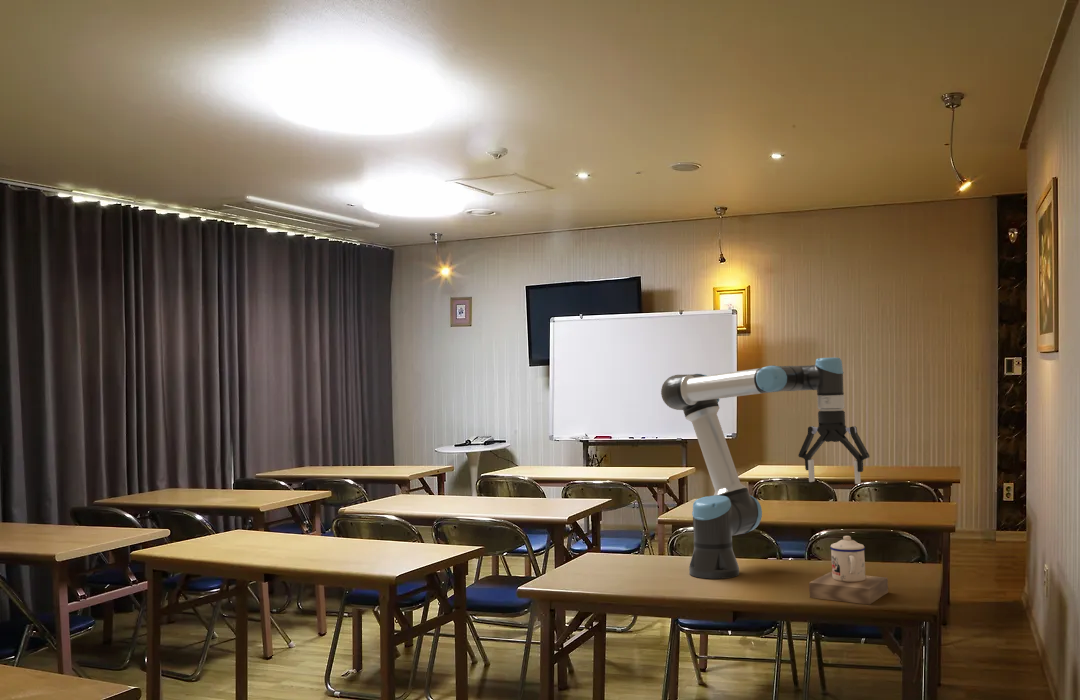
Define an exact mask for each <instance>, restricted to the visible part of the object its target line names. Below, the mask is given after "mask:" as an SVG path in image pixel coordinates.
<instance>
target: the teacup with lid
mask: <svg viewBox="0 0 1080 700" xmlns="http://www.w3.org/2000/svg"><path fill="white" fill-rule="evenodd" d="M842 538H843V539H840V540H838V541H837V542H835V543H831V544H830V548H829V549H830V552H831V553H830V554H831V572H832V577H833V579H835V580H838V581H843V582H860V581H863V580H865V578H866V577H865V575H866V562H865V560H866V559H865V550H866V547H865V546H864V544H862V543H858V542H857V541H856V540H854V539H852V537H851V536H850V535H843V537H842Z"/></svg>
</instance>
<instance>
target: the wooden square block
mask: <svg viewBox="0 0 1080 700" xmlns="http://www.w3.org/2000/svg"><path fill="white" fill-rule="evenodd" d="M865 577H866V578H865V580H863V581H860V582H843V581H838V580H835V579H833V577H832V571H829V572H827V573H825V574H823V575H821V576H818V577H817V578H815V579H813V580H811V581H809V582H808V583H809V584H808V585H809V587H808V588H809V598H812V599H821V600H829V601H836V602H837V601H838V602H844V603H845V602H846V603H852V604H853V603H854V604H863V605H871V604H872V603H874V602H876V601H877V600H878V599H881V598H882V597H884V596H885V595H887V594H888V593H889V584H888V583H889V582H888V577H886V576H885V577H884V576H883V577H882V576H874V575H867V574H865Z"/></svg>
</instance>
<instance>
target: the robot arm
mask: <svg viewBox="0 0 1080 700" xmlns="http://www.w3.org/2000/svg"><path fill="white" fill-rule="evenodd" d="M843 368H844V367H843V362H842V359H841V358H840V357H818V358H816V359H815V364H811V365H810V364H809V365H767V366H763V367H759V368H751V369H745V370H744V369H743V370H737V371H729V372H723V373H717V374H716V373H715V374H711V375H707V374H702V373H694V374H674V375H671V376H670V377H668V378H667V379H666V380H665V381H664V382H663V383H662V386H661V388H660V389H661V390H660V394H661V398H662V401H663V403H664V404H665V405H666V406H667V407H669V408H671V409H673V410H676V411H683V413H684V417H685V419H686V420H688V421H690V422H691V423H692V426H693V429H694V432H695V436H696V438H697V441H698V444H699V447H700V449H701V452H702V456H703V460H704V462H705V465H706V468H707V471H708V474H709V477H710V481H711V483H712V486H713V489H714V494H713V495H708V496H707V495H706V496H703V497H700V498H697V499H696V500H694V501H693V504H692V512H691V514H692V524H693V553H692V556H691V560H690V563H689V567H688V568H689V569H688V571H689V575H690V576H693V577H695V578H699V579H700V578H701V579H712V580H713V579H714V580H715V579H730V578H731V579H732V578H734V577H737V576H739V575H740V566H739V563H738V560H737V557H736V555H735V553H734V550H733V536H737V535H744V534H747V533H749V532H751V531H754V530H755V529H756V528H757V527H758V526H759V525H760V523H761V521H762V517H763V511H762V505H761V503H760V502H759V500H758V499H757V497H754V496H753V495H750V492H749V489H748V487H747V486H746V485H744V484H742V483H741V481H740V477H739V475H738V474H739V473H738V472H737V469H736V466H735V463H734V460H733V457H732V455H731V452H730V448H729V446H728V443H727V440H726V437H725V434H724V431H723V428H722V425H721V422H720V420H719V417H718V412H719V409H720V405H719V402H720V400H721V399H727V398H735V397H736V398H737V397H743V396H750V395H759V394H768V393H778V392H797V391H798V392H799V391H801V392H803V391H816V395H817V396H816V397H817V400H816V401H817V409H818V410H819V411H818V412H817V416H818V417H817V418H818V420H817V421H818V427H816V426H814V425H811V426H808V427H807V435H806V436H805V439H804V441H803V444H802V445H801V449H800V450H799V452H798V455H797V456H798V457H799V458H801V459H804V465H805V466H804V468H805V471H808V482H809V483H813V482H815V480H816V478H815V459H813V458H812V457H813V456H814V455H815V453H816V452H817V451H819V449H820V447H821V446H822V444H824V443H825V442H827V443H831V442H834V443H838V442H840V443H841V444H842V445H843V446H844V447H845V448H846V450H848V451H849V453H850V454H851V455H852V456H853V457H854V458H855V460H853V469H854V472H853V473H854V484H855V485H859V484H861V482H862V481H861V480H862V479H861V473H862V472H863V471H864V460H866V459H869V458H870V454H869V452H868V450H867V448H866V446H865V444H864V443H863V441H862V439H861V437H860V436H859V434H858V433H859V432H858V428H857V426H855V425H853V426H849V427H847V425H846V412H845V410H843V409H845V395H844V394H845V393H844V369H843ZM817 432H818V434H819V437H818V438H817V440H816V441H815V443H813V445H812V446H811V447H810V445H811V443H812V441H813V439H814V437H815V435H816V434H817ZM846 433H848V434H849V435H850V437H851V438H852V439H853V442H854V444H855V445H856V447H857V449H856V447H855V446H854V445H853V444H852V443H851V442H850V441H849V439H848V437H846ZM809 447H810V449H809ZM808 450H809V451H808ZM863 473H864V472H863Z"/></svg>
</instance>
